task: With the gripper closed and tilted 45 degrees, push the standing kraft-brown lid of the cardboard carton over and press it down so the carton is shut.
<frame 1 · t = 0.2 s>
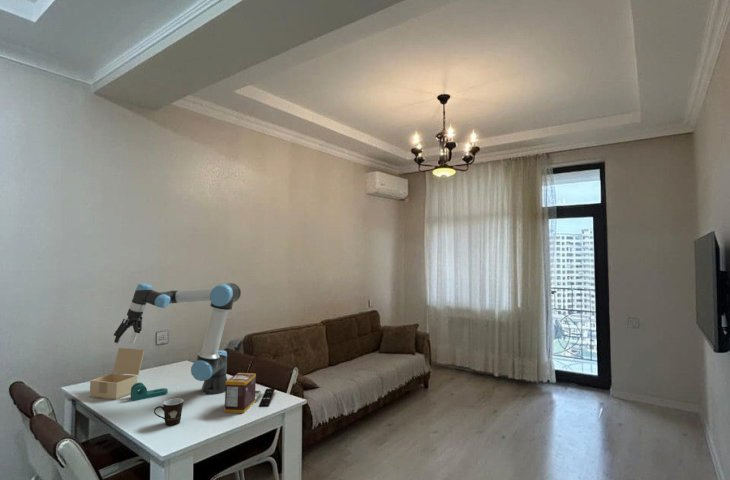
hand: (123, 345, 219), 28 cm above the table, tool tilted 20°, fingers open, 13 cm apart
carton lid: (128, 361, 229), point 16 cm above the table, hinge at 105.0°
supplement box: (240, 407, 203), on the table
coffee mug: (169, 423, 182), on the table
bracket: (149, 396, 217), on the table
carton: (113, 394, 219), on the table
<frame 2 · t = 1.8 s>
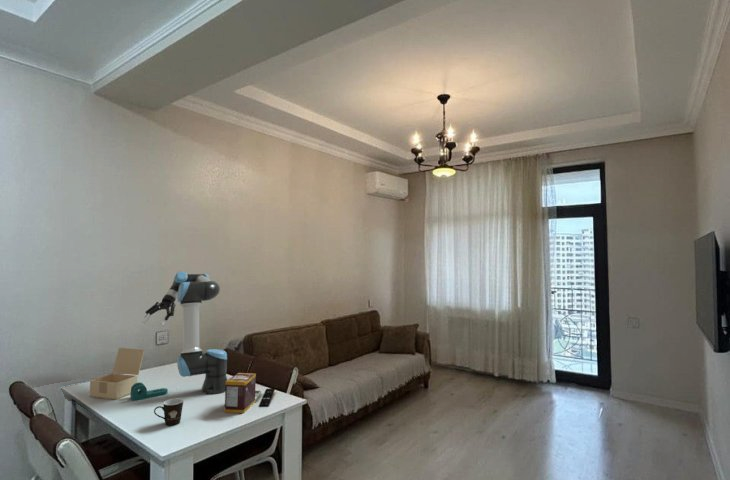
hand: (152, 323, 247), 36 cm above the table, tool tilted 45°, fingers open, 13 cm apart
nothing on the table moved.
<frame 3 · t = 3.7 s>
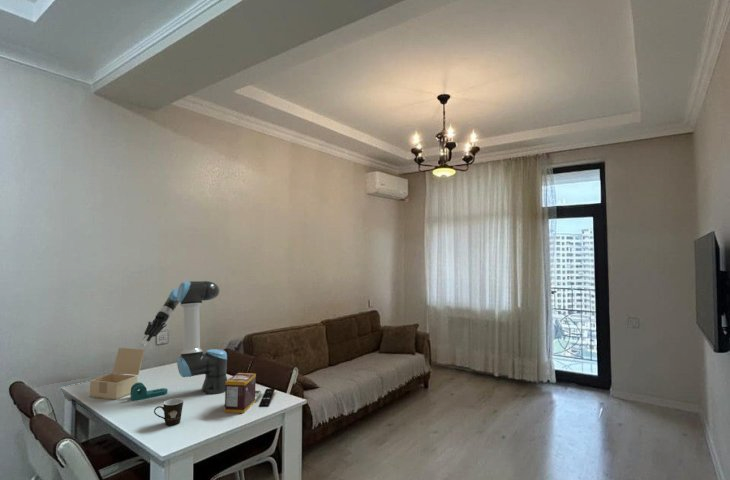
hand: (142, 344, 241), 23 cm above the table, tool tilted 45°, fingers closed
nothing on the table moved.
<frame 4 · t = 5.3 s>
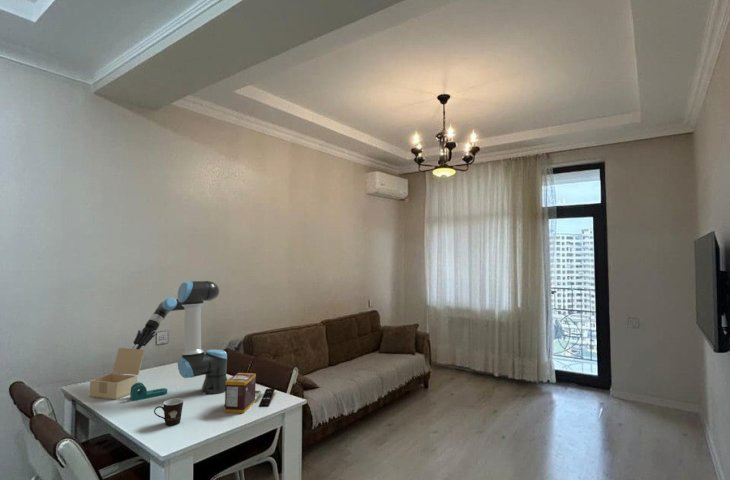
hand: (131, 354, 232), 19 cm above the table, tool tilted 45°, fingers closed
carton lid: (128, 361, 229), point 16 cm above the table, hinge at 104.8°, touching gripper
everything else where it was.
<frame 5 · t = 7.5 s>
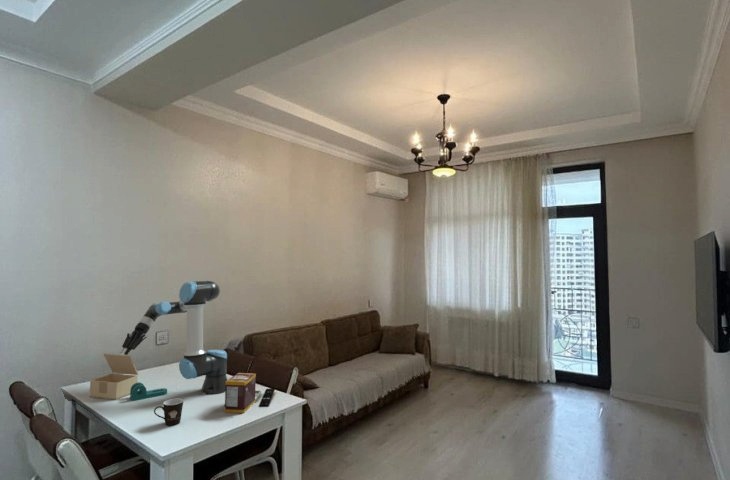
hand: (120, 359, 224), 19 cm above the table, tool tilted 45°, fingers closed
carton lid: (121, 364, 224), point 16 cm above the table, hinge at 61.1°, touching gripper
everything else where it was.
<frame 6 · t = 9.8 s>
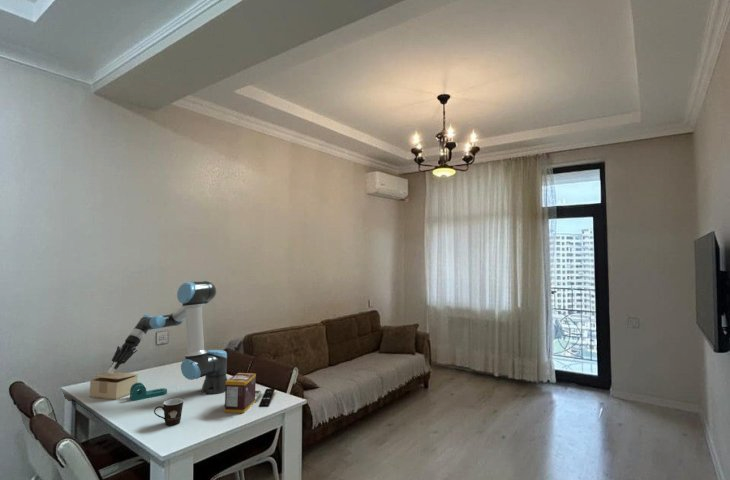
hand: (109, 373, 217), 12 cm above the table, tool tilted 45°, fingers closed
carton lid: (114, 375, 220), point 11 cm above the table, hinge at 6.9°, touching gripper
everything else where it was.
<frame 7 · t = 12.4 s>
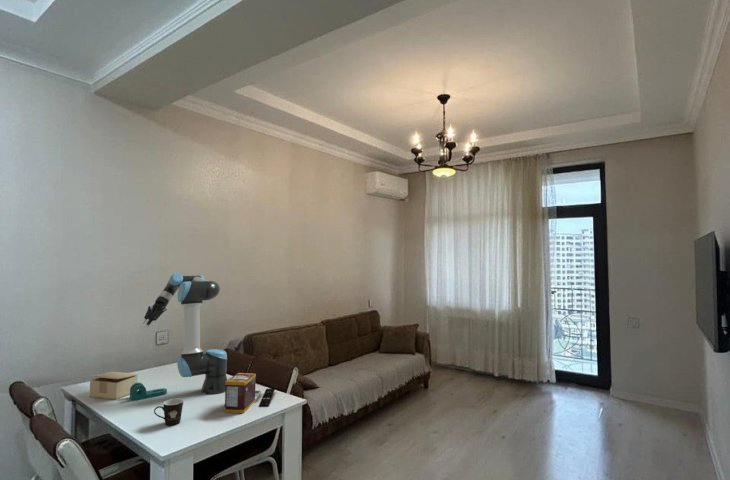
hand: (143, 328, 240), 34 cm above the table, tool tilted 45°, fingers closed
carton lid: (114, 375, 220), point 11 cm above the table, hinge at 6.8°
everything else where it was.
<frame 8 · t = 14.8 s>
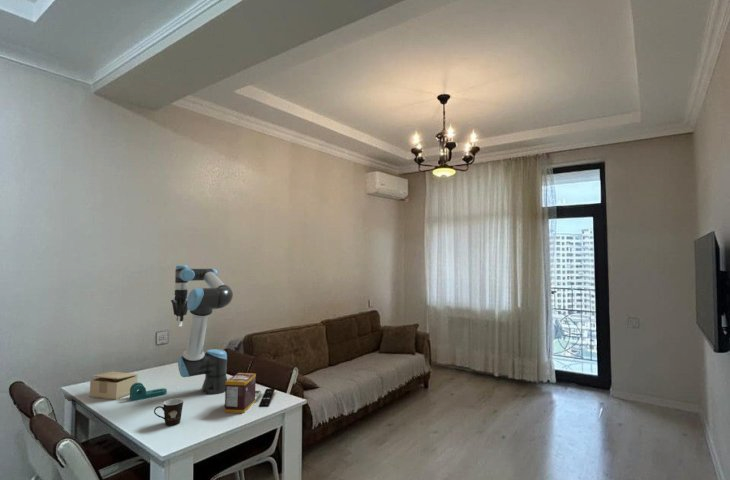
hand: (179, 326, 246), 34 cm above the table, tool pointing down, fingers closed
nothing on the table moved.
at the end: carton lid at +7° (first picture: +105°); bracket moved 0.7 cm from its start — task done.
